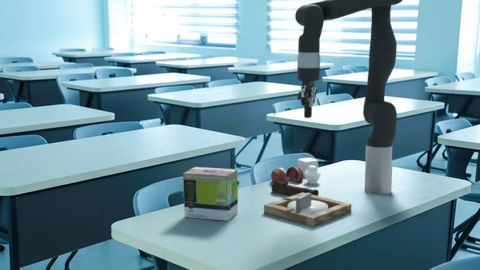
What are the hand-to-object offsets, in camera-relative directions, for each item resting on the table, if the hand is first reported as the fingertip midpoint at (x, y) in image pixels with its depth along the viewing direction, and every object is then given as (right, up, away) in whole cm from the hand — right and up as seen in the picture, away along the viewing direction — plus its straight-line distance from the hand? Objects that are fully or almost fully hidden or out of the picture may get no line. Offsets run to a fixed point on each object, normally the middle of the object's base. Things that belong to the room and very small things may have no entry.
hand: (307, 117), depth 208 cm
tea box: (-32, -32, -10) cm, 46 cm away
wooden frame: (-1, -31, -9) cm, 32 cm away
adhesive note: (+4, -22, +42) cm, 48 cm away
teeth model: (-5, -24, +30) cm, 39 cm away
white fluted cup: (+5, -24, +28) cm, 38 cm away
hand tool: (-4, -28, +11) cm, 30 cm away
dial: (-1, -31, -9) cm, 32 cm away
